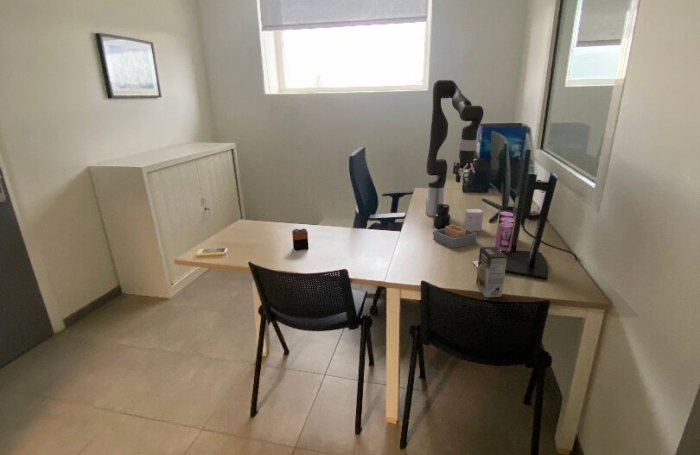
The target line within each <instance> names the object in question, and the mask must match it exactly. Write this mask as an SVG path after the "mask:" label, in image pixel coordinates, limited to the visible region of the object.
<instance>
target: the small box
mask: <svg viewBox="0 0 700 455" xmlns="http://www.w3.org/2000/svg"><path fill="white" fill-rule="evenodd" d="M483 217H484V212H483V211H482V209H481V208H480V209H477V208H476V209H474V208H473V209H472V208H471V209H469V208H467V209H466V208H465V216H464V225H463V226H464V227H463V228H465V229H467V230H470V231H472V232H481V231H482V228H483V227H482V226H483Z"/></svg>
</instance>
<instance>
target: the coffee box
mask: <svg viewBox="0 0 700 455" xmlns="http://www.w3.org/2000/svg"><path fill="white" fill-rule="evenodd" d="M478 261H479V263H478V268H477V273H476V281H475V282H476V284H475V286H476V287H477V288H478V290H479V291H480V293H482V295H483V297H484V298H494V297H495V298H499V297H502V295H503V288H504V281H505V277H504V276H505V273H506V268H507V263H508V262H507V261H508V256H507V255H506V254H505V252H501V251H500V250H499V249H498V248H497V247H495V246H480V247H479V255H478Z"/></svg>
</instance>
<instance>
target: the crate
mask: <svg viewBox="0 0 700 455" xmlns="http://www.w3.org/2000/svg"><path fill="white" fill-rule="evenodd" d="M456 226H457V227H459V228H462V229H464V230H466V236H462V237H458V238H455V239H453V238H451V237H448V236H446V235H445V228H444V229H437V230H434V231H433V239H432V240H433V241H435V242H438V243H441V244H442V245H444V246H446V247H449V248H450V249H457V248H460V247H463V246H467V245H470V244H474V243H477V242H476V241H477V237H478V236H477V235H478V234H477V233H476V231H470V230H467V229H465V228H464V227H461V226H459V225H456Z"/></svg>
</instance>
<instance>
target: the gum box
mask: <svg viewBox="0 0 700 455" xmlns="http://www.w3.org/2000/svg"><path fill="white" fill-rule="evenodd" d="M513 211H514V210H506V209H505V210H504V209H500V210H499V212H498V218H497V226H496V233H495V234H496V235H495V243H494V245H495V246H494V247H497V248H498V249H499V250H508V251H510V249H511V241H512V234H513V222H514V219H513Z"/></svg>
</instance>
